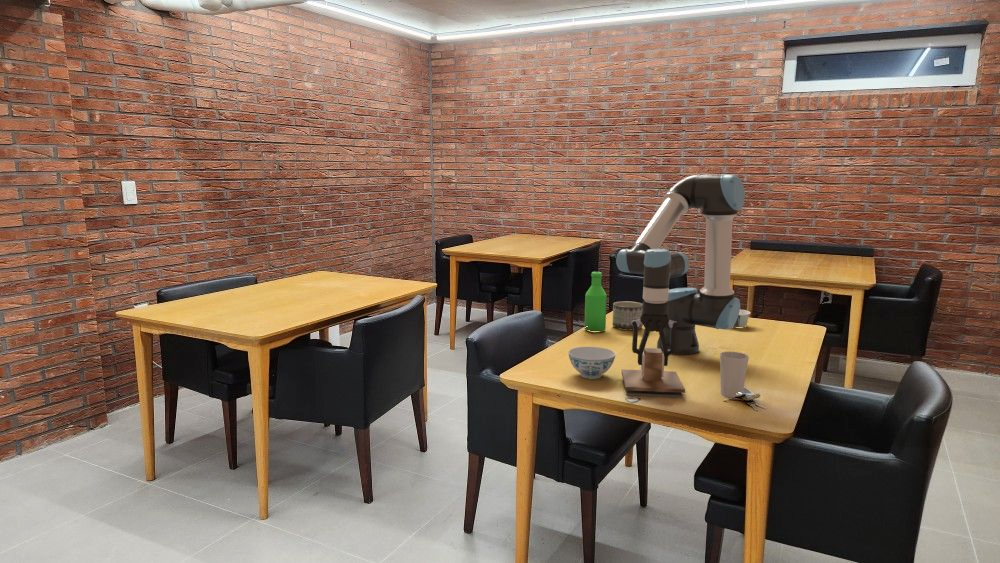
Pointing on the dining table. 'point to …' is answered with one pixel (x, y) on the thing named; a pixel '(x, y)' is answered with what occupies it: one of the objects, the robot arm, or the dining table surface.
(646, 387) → the lid
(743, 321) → the food container
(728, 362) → the cup
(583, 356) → the chinaware
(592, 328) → the bottle
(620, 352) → the dining table surface
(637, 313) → the planter
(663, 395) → the mat
